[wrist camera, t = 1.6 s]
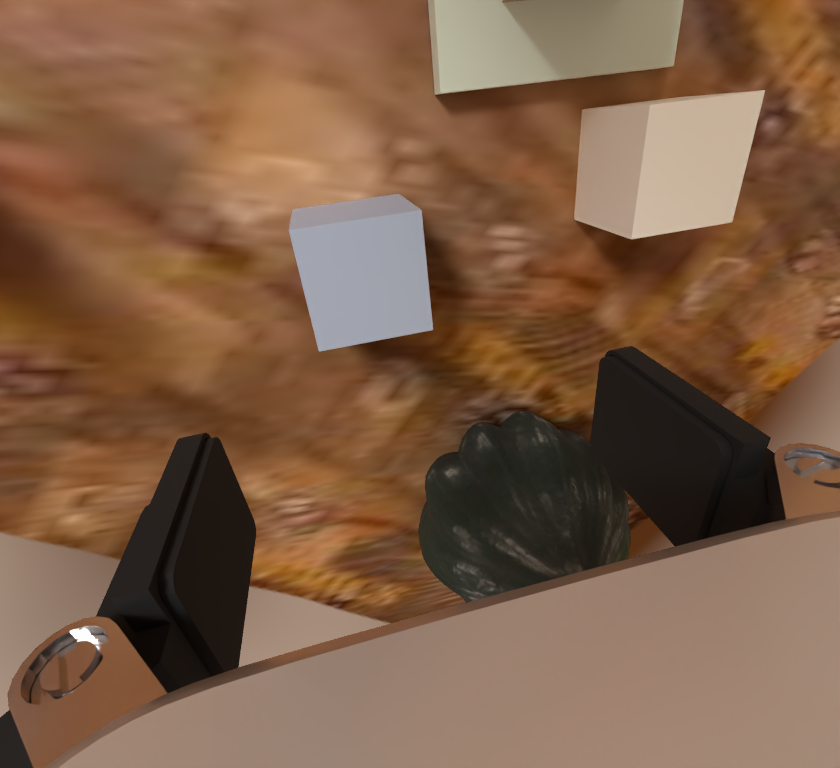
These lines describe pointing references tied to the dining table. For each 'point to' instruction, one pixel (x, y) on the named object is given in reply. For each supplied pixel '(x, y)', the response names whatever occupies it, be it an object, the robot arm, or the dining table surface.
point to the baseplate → (547, 40)
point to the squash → (520, 509)
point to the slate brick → (363, 269)
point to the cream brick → (664, 163)
